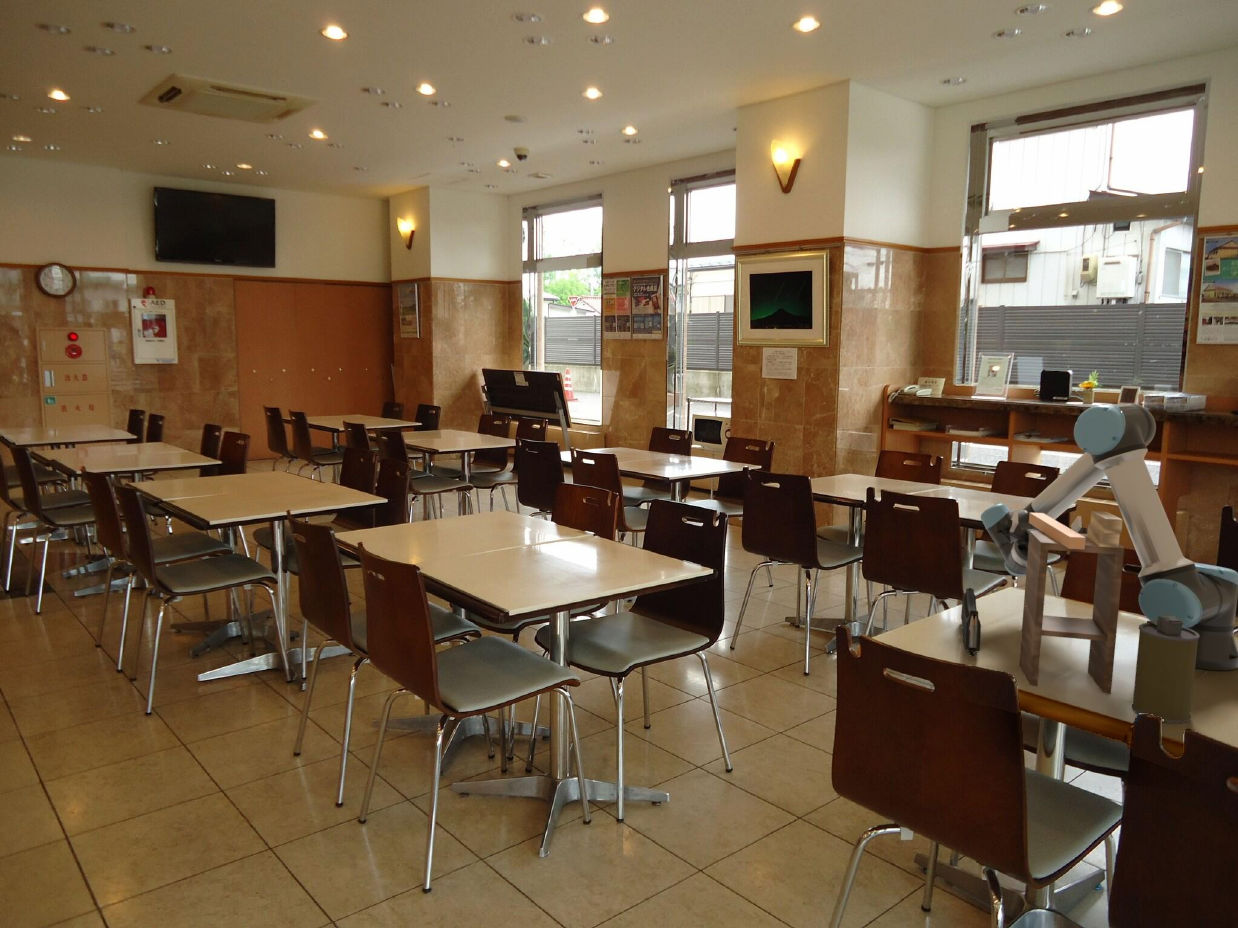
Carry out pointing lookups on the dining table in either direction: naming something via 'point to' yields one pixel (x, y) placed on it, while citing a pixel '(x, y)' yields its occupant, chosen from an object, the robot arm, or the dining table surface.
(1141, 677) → the canister
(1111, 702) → the dining table surface
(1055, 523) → the batten
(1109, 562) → the rack
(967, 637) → the magazine
